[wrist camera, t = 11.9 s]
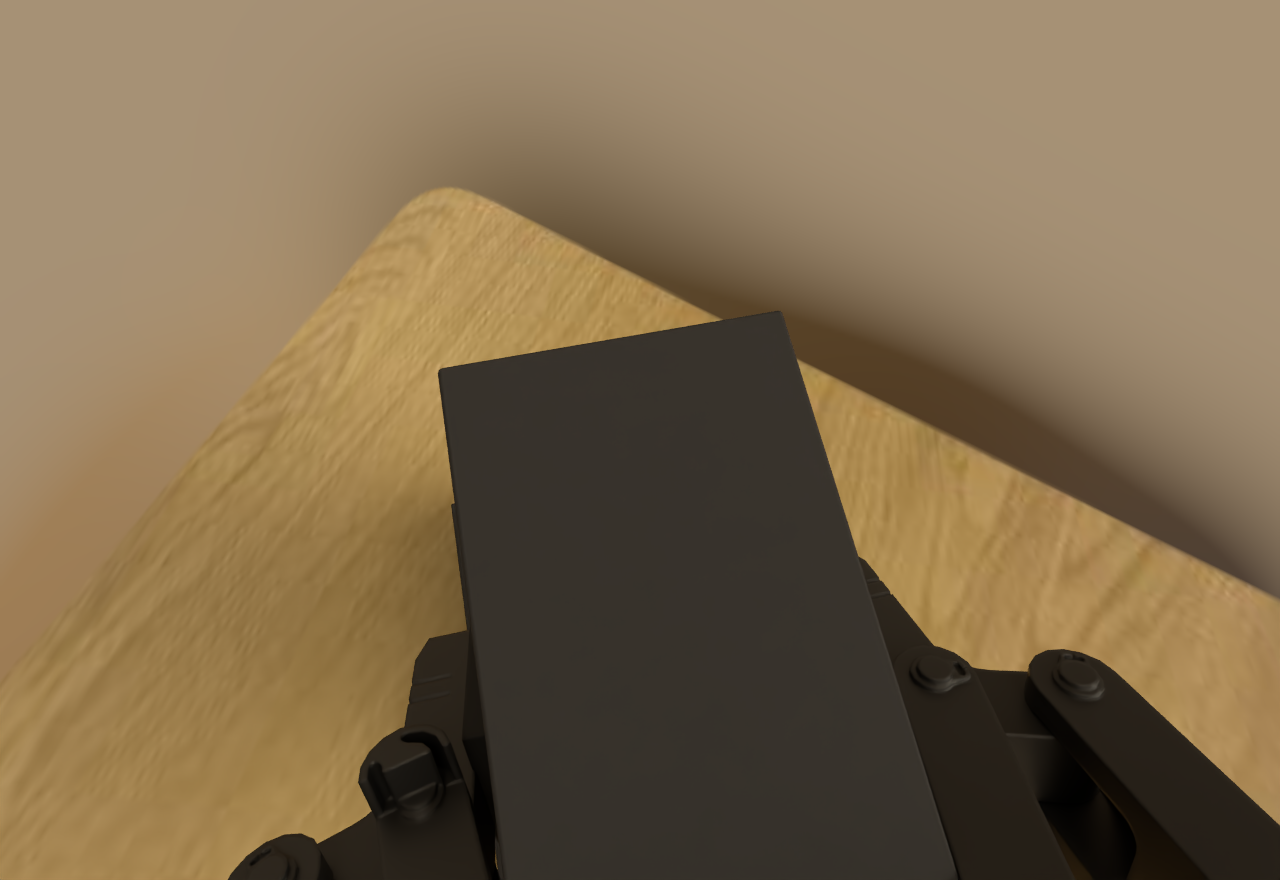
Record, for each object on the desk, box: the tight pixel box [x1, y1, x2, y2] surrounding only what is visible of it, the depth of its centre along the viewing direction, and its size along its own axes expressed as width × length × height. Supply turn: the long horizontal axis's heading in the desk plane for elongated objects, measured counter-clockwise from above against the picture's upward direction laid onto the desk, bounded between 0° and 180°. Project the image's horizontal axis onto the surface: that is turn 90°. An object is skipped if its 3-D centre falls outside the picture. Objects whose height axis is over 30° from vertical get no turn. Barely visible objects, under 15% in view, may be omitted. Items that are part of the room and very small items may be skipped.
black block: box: [438, 311, 959, 880], centre depth 13 cm, size 5×10×11 cm, turn 12°
